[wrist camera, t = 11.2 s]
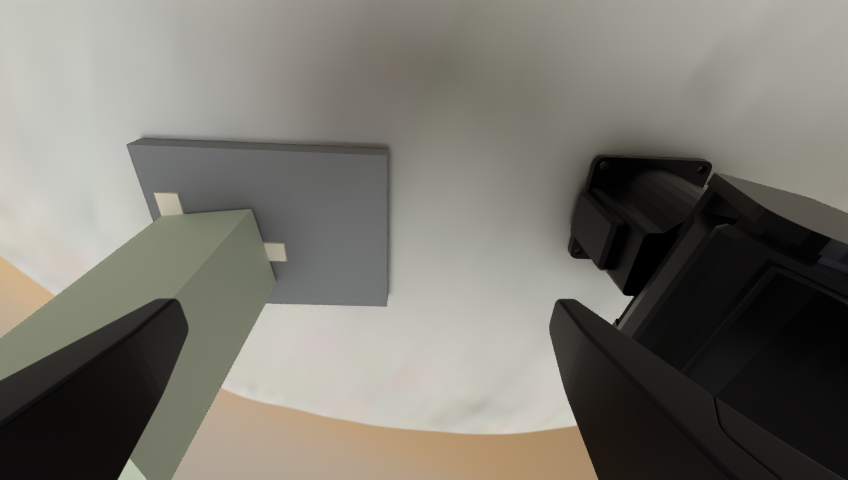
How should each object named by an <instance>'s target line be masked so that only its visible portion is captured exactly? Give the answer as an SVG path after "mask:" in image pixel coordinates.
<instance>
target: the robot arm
mask: <svg viewBox="0 0 848 480" xmlns="http://www.w3.org/2000/svg"><path fill="white" fill-rule="evenodd" d="M604 161H606V164H605V166H604V167H602V168H599V167H600V164H601V163H602V162H604ZM701 166H702V169H701V170H700V171H698V169H699V167H701ZM711 169H712V165H711V163H710V162H708V161H706V160H704V159H693V158H670V157H647V156H624V155H599V156H597V157H596V158H595V159H594V160H593V162H592V166H591V169H590V173H589V176H588V180H587V183H586V187H585V190H584V191H583V192H582V193H581V194H580V197H579V201H578V205H577V208H576V212H575V215H574V219H573V223H572V226H571V232H572V237H571V240H570V244H569V247H568V252H569V253H570V255H571V256H572V257H573V258H576V259H591V260H592V261H593V262H594V264H595V265H596V266H597V268H598V269H599V270H602V271H606V272H607V273H608V275H609V276H610V277H611V278H612V280H613V281H614V282H615V284H616V285H617V286H618V288H619V289H620V290H621V292H622V293H623V294H624V295H626V296H634V297H633V299H632V300H631V302H630V303H629V305H628V306H627V307H626V309H625V310H624V312H623V313H622V315H621V316H620V318H619V319H616V320H615V321H614V323H613V324H612V325H611V324H610V323H608V322H607V321H606V320H604V319H603V318H601V317H600V316H598V315H597V314H595V313H594V312H593V311H591V310H590V309H588V308H587V307H585V306H584V305H582V304H581V303H580V302H578V301H577V300H575V299H558V300H557V301H556V303H555V306H554V309H553V313H552V317H551V321H550V325H549V331H550V336H551V340H552V344H553V348H554V352H555V356H556V360H557V363H558V367H559V371H560V375H561V379H562V383H563V386H564V390H565V393H566V395H567V398H568V401H569V404H570V406H571V409H572V412H573V414H574V417H575V420H576V422H577V425H578V427H579V430H580V432H581V435H582V438H583V441H584V443H585V446H586V448H587V451H588V454H589V456H590V459H591V462H592V464H593V467H594V469H595V472H596V475H597V477H598V480H848V213H846V212H843V211H841V210H838V209H836V208H833V207H831V206H828V205H826V204H823V203H821V202H819V201H816V200H814V199H811V198H808V197H805V196H801V195H798V194H794V193H790V192H787V191H783V190H779V189H775V188H772V187H768V186H764V185H761V184H757V183H753V182H750V181H746V180H742V179H739V178H735V177H731V176H728V175H724V174H720V173H716V172H715V173H714V174H713V175H712V177H711V178H710V180H709V181H708V183H707V185H708V188H707V189H706V190H704V189H703V187H704V185H705V183H706V181H707V178H708V176H709V174H710V172H711ZM697 171H698V172H697ZM578 248H580V250H579V251H577V252H574V251H575V250H576V249H578ZM188 331H189V326H188V322H187V319H186V317H185V314H184V311H183V309H182V306H181V304H180V302H179V301H178V300H177V299H175V298H158V299H155V300H153V301H151V302H149V303H147V304H145V305H143V306H142V307H140V308H138V309H136V310H134V311H132V312H130V313H128V314H126V315H124V316H122V317H121V318H119V319H117V320H115V321H113V322H111V323H109V324H107V325H105V326H103V327H101V328H99V329H98V330H96V331H94V332H92V333H90V334H88V335H86V336H84V337H82V338H80V339H78V340H77V341H75V342H73V343H71V344H69V345H67V346H65V347H63V348H61V349H59V350H57V351H56V352H54V353H52V354H50V355H48V356H46V357H44V358H42V359H40V360H38V361H36V362H35V363H33V364H31V365H29V366H27V367H25V368H23V369H21V370H19V371H17V372H15V373H13V374H12V375H10V376H8V377H6V378H4V379H2V380H0V480H118V479H119V477H120V475H121V473H122V471H123V469H124V467H125V466H126V464H127V462H128V460H129V458H130V456H131V454H132V452H133V451H134V449H135V447H136V445H137V443H138V441H139V439H140V437H141V436H142V434H143V432H144V430H145V428H146V426H147V424H148V422H149V421H150V419H151V417H152V415H153V413H154V411H155V409H156V407H157V406H158V404H159V402H160V400H161V398H162V396H163V394H164V391H165V389H166V387H167V385H168V382H169V380H170V377H171V375H172V372H173V370H174V367H175V365H176V362H177V360H178V358H179V355H180V353H181V350H182V348H183V345H184V343H185V340H186V338H187V335H188Z"/></svg>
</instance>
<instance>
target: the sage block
mask: <svg viewBox="0 0 848 480" xmlns="http://www.w3.org/2000/svg"><path fill="white" fill-rule="evenodd" d="M276 283H277V282H276V279H275V276H274V273H273V270H272V267H271V264H270V261H269V258H268V255H267V252H266V250H265V247H264V244H263V241H262V238H261V235H260V232H259V229H258V226H257V223H256V220H255V217H254V214H253V211H252V209H242V210H230V211H217V212H204V213H191V214H179V215H166V216H161V217H159V218H158V219H157V220H156V221H154V222H153V223H152V224H150V225H149V226H148V227H146V228H145V229H144V230H142V231H141V232H140V233H138V234H137V235H136V236H135V237H133V238H132V239H131V240H129V241H128V242H127V243H125V244H124V245H123V246H121V247H120V248H119V249H117V250H116V251H115V252H113V253H112V254H111V255H110V256H108V257H107V258H106V259H104V260H103V261H102V262H100V263H99V264H98V265H96V266H95V267H94V268H92V269H91V270H90V271H88V272H87V273H86V274H85V275H83V276H82V277H81V278H79V279H78V280H77V281H75V282H74V283H73V284H71V285H70V286H69V287H67V288H66V289H65V290H63V291H62V292H61V293H60V294H58V295H57V296H56V297H54V298H53V299H52V300H50V301H49V302H48V303H46V304H45V305H44V306H42V307H41V308H40V309H38V310H37V311H36V312H35V313H33V314H32V315H31V316H29V317H28V318H27V319H25V320H24V321H23V322H21V323H20V324H19V325H17V326H16V327H15V328H14V329H12V330H11V331H10V332H8V333H7V334H6V335H4V336H3V337H2V338H0V380H2V379H4V378H6V377H8V376H10V375H12V374H13V373H15V372H17V371H19V370H21V369H23V368H25V367H27V366H29V365H31V364H33V363H35V362H36V361H38V360H40V359H42V358H44V357H46V356H48V355H50V354H52V353H54V352H56V351H57V350H59V349H61V348H63V347H65V346H67V345H69V344H71V343H73V342H75V341H77V340H78V339H80V338H82V337H84V336H86V335H88V334H90V333H92V332H94V331H96V330H98V329H99V328H101V327H103V326H105V325H107V324H109V323H111V322H113V321H115V320H117V319H119V318H121V317H122V316H124V315H126V314H128V313H130V312H132V311H134V310H136V309H138V308H140V307H142V306H143V305H145V304H147V303H149V302H151V301H153V300H155V299H158V298H175V299H177V300H178V301H179V302H180V304H181V306H182V309H183V311H184V314H185V317H186V319H187V322H188V326H189V331H188V335H187V338H186V340H185V343H184V345H183V348H182V350H181V353H180V355H179V358H178V360H177V362H176V365H175V367H174V370H173V372H172V375H171V377H170V380H169V382H168V385H167V387H166V389H165V391H164V394H163V396H162V398H161V400H160V402H159V404H158V406H157V407H156V409H155V411H154V413H153V415H152V417H151V419H150V421H149V422H148V424H147V426H146V428H145V430H144V432H143V434H142V436H141V437H140V439H139V441H138V443H137V445H136V447H135V449H134V451H133V452H132V454H131V456H130V458H129V460H128V462H127V464H126V466H125V467H124V469H123V471H122V473H121V475H120V477H119V479H118V480H171V479H172V477H173V475H174V473H175V471H176V469H177V468H178V466H179V464H180V462H181V460H182V458H183V457H184V455H185V453H186V451H187V449H188V447H189V445H190V443H191V442H192V440H193V438H194V436H195V434H196V432H197V430H198V429H199V427H200V425H201V423H202V421H203V419H204V417H205V415H206V413H207V412H208V410H209V408H210V406H211V404H212V402H213V401H214V399H215V397H216V395H217V393H218V391H219V389H220V388H221V386H222V384H223V382H224V380H225V378H226V376H227V374H228V373H229V371H230V369H231V367H232V365H233V363H234V361H235V360H236V358H237V356H238V354H239V352H240V350H241V348H242V347H243V345H244V343H245V341H246V339H247V337H248V335H249V333H250V332H251V330H252V328H253V326H254V324H255V322H256V320H257V319H258V317H259V315H260V313H261V311H262V309H263V307H264V306H265V304H266V302H267V300H268V298H269V296H270V294H271V292H272V291H273V289H274V287H275V285H276Z"/></svg>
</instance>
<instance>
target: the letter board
mask: <svg viewBox="0 0 848 480" xmlns="http://www.w3.org/2000/svg"><path fill="white" fill-rule="evenodd" d="M126 145H127V148H128V151H129V154H130V157H131V159H132V162H133V165H134V168H135V171H136V174H137V177H138V179H139V182H140V185H141V188H142V191H143V194H144V196H145V199H146V202H147V205H148V208H149V211H150V214H151V216H152V219H153V222H154V221H156V220H157V219H158V218H159V217H161V216H166V215H179V214H191V213H204V212H217V211H230V210H242V209H252V211H253V214H254V217H255V220H256V223H257V226H258V229H259V232H260V235H261V238H262V241H263V244H264V247H265V250H266V252H267V255H268V258H269V261H270V264H271V267H272V270H273V273H274V276H275V279H276V282H277V283H276V285H275V287H274V289H273V291H272V292H271V294H270V296H269V298H268V300H267V302H266V303H273V304H311V305H348V306H386V307H387V300H388V149H382V148H358V147H335V146H312V145H289V144H265V143H242V142H219V141H196V140H172V139H149V138H141V139H138V140H136V141H134V142H131V143H129V144H126Z"/></svg>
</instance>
